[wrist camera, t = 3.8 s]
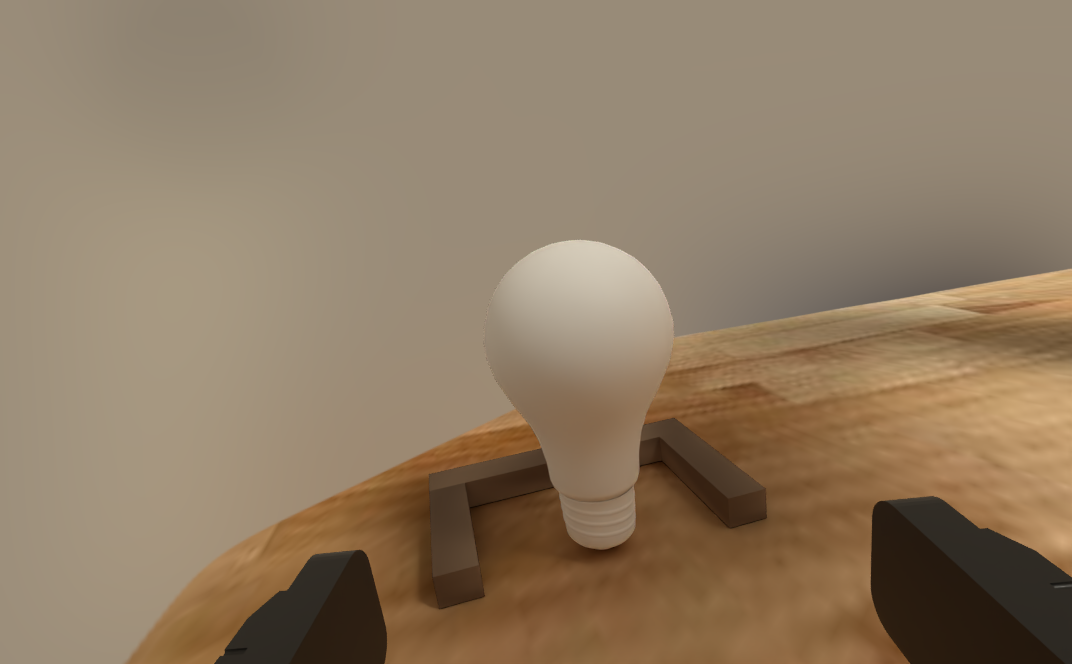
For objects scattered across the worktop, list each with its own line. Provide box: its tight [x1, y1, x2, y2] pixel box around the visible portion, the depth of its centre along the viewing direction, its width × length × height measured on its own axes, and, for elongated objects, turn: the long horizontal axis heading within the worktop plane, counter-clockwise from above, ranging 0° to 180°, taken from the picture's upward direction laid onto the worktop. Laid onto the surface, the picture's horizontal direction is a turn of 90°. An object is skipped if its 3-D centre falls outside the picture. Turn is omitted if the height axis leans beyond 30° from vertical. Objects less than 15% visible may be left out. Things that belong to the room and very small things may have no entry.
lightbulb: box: [484, 240, 674, 550], centre depth 17 cm, size 6×6×11 cm
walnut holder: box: [429, 418, 767, 609], centre depth 21 cm, size 12×7×1 cm, turn 103°
